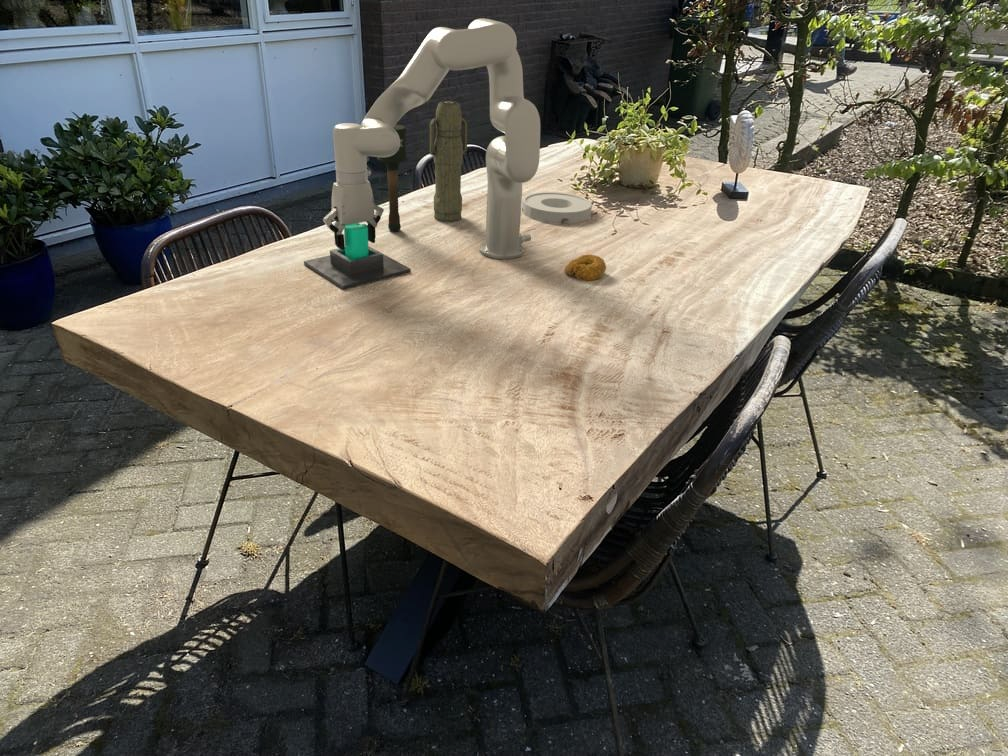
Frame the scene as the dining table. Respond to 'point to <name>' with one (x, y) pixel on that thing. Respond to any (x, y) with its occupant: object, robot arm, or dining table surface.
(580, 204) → the grey round base
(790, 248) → the dining table surface
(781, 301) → the dining table surface
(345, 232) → the candle
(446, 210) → the olive green tall cylinder
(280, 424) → the dining table surface
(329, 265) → the socket holder
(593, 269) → the bagel
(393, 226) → the grenade
